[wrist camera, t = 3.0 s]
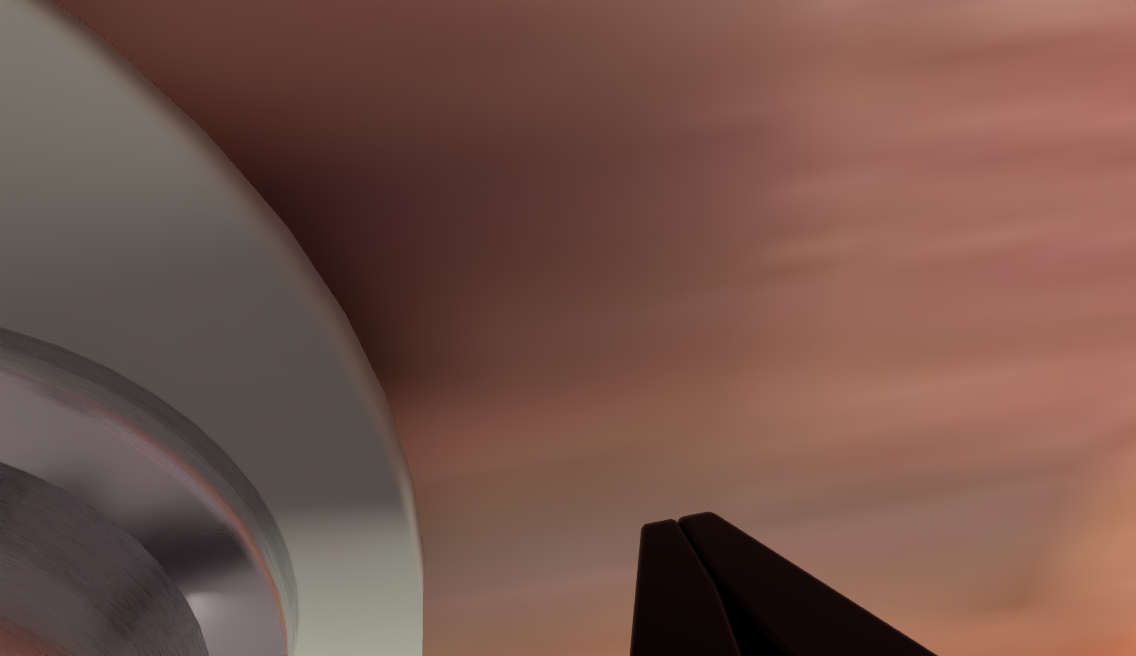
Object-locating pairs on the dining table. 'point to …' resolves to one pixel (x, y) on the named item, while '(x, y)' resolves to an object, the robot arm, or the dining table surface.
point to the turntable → (204, 317)
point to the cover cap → (127, 523)
